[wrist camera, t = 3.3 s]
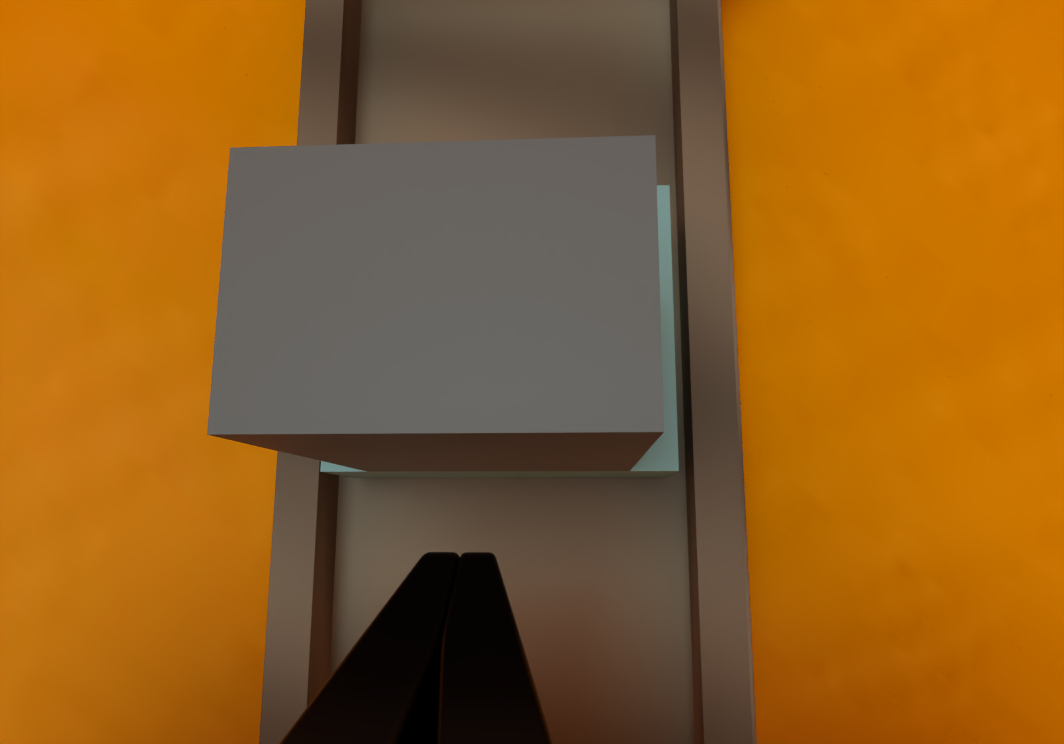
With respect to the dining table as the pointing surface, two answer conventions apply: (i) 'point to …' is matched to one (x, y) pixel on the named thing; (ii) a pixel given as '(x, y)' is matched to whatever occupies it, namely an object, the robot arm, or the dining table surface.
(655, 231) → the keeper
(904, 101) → the dining table surface
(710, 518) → the rail
